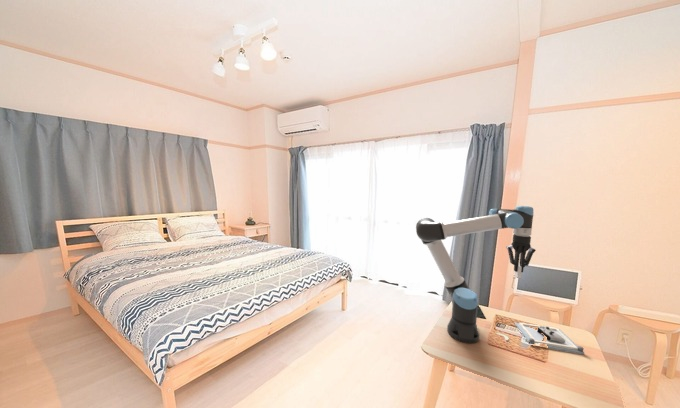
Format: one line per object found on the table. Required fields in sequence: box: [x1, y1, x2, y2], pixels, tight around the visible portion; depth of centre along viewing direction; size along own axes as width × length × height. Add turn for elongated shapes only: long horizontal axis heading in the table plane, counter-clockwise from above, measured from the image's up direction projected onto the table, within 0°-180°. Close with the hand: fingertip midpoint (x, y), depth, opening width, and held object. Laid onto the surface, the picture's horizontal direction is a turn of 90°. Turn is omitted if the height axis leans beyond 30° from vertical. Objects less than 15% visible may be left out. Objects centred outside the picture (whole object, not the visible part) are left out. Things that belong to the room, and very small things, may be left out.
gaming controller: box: [537, 325, 565, 343], centre depth 122 cm, size 11×6×7 cm
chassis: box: [514, 322, 585, 355], centre depth 123 cm, size 22×18×3 cm
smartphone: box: [477, 304, 487, 320], centre depth 148 cm, size 7×1×15 cm
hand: (517, 277), depth 127 cm, fingers closed
